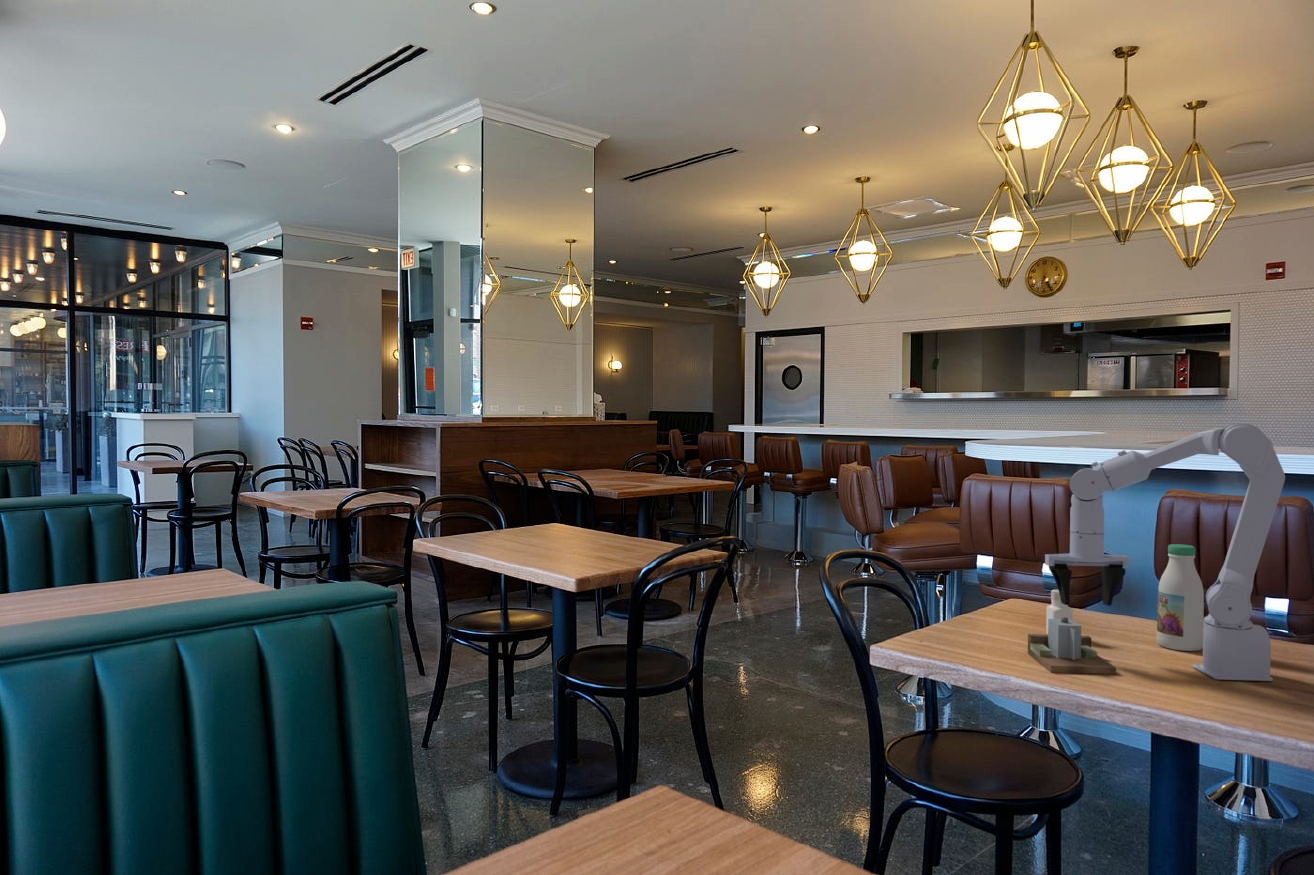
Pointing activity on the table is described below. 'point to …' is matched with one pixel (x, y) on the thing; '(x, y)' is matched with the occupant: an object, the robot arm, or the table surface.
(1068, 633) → the grey knobbed box
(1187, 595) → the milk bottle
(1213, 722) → the table surface
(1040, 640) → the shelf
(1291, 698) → the table surface
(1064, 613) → the pepper shaker
